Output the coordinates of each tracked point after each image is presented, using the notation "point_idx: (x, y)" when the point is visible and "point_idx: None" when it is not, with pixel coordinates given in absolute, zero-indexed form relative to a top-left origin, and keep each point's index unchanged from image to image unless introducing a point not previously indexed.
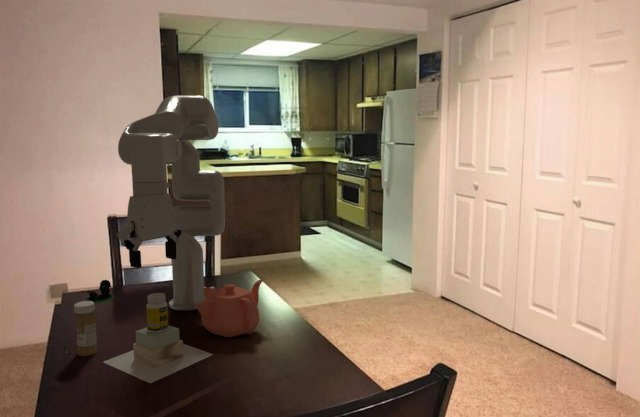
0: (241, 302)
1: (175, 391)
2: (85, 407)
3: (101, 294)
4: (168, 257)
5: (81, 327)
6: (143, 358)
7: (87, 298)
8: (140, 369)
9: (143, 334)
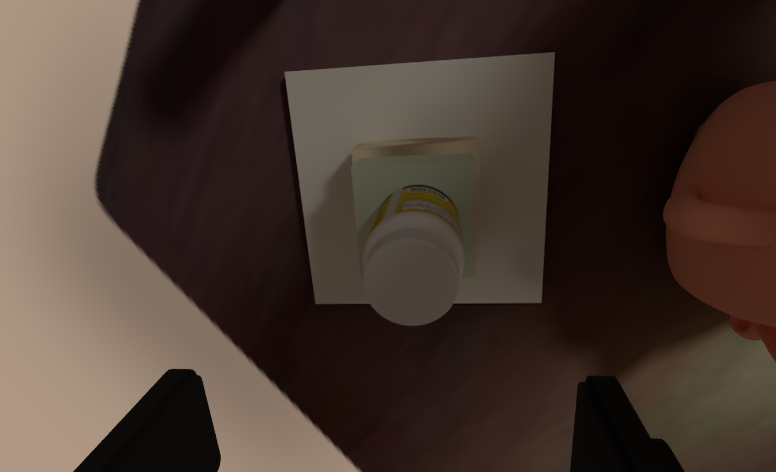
0: None
1: (349, 355)
2: (170, 259)
3: None
4: (578, 417)
5: None
6: None
7: None
8: (339, 217)
9: (355, 217)
